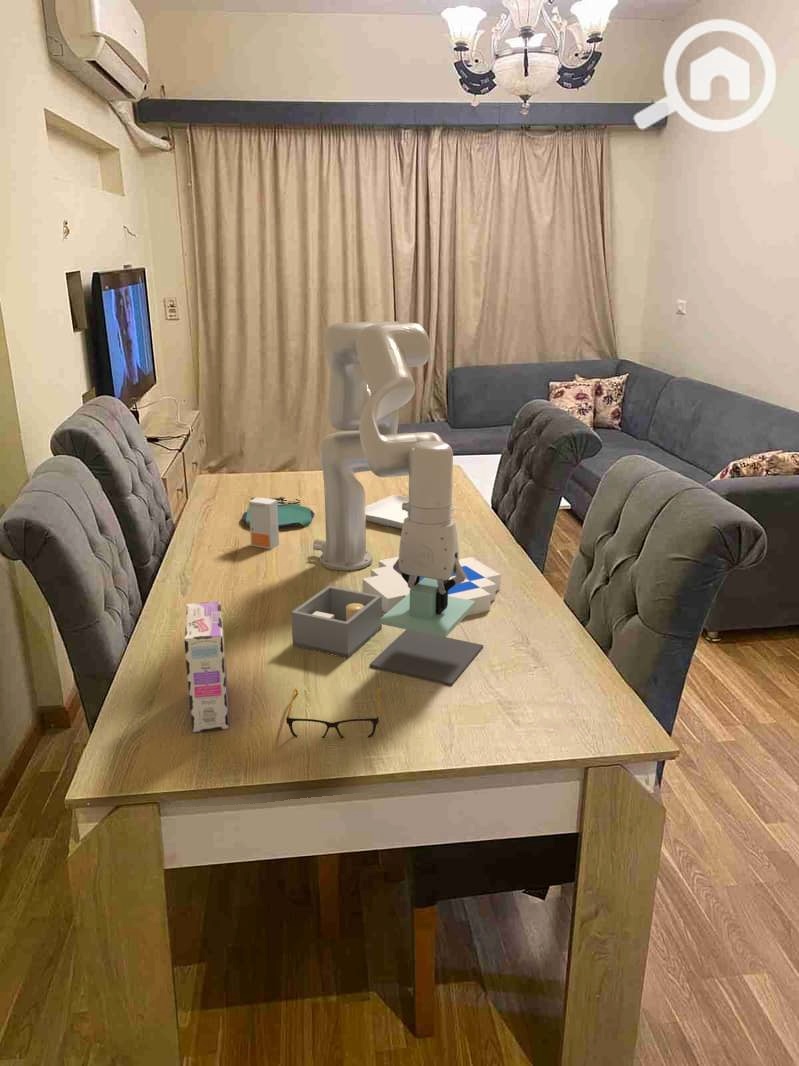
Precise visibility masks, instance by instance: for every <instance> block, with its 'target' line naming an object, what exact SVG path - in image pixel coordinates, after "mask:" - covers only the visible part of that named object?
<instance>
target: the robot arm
mask: <svg viewBox="0 0 799 1066" xmlns="http://www.w3.org/2000/svg"><path fill="white" fill-rule="evenodd" d="M431 350H432V349H431V342H430V338H429V335H428V333H427V331H426V330H425V328H424V327H423V326H421V324H419V323H415V322H408V321H397V320H394V321H351V322H338V323H332V324H331V325H329V326H328V327H327V328H326V330H325V331H324V334H323V351H324V353H325V357H326V360H327V363H328V367H329V382H328V383H329V386H328V406H327V407H328V409H327V413H328V414H327V416H328V423H329V424H330V425H331V427H332V428H333V429H335V430H337V431H338V432H333V433H329V434H327V435H325V436H324V437H322V439H321V441H320V442H319V448H318V449H319V450H318V452H319V459H320V464H321V469H322V477H323V486H324V488H323V489H324V514H325V518H324V519H325V522H324V523H325V540H323V539H318V538H315V539H314V541H313V546H312V548H313V550H315V551H320V552H322V554H321V555H320V557H319V563H320V564H321V566H324V567H325V568H326V569H330V570H334V571H355V570H361V569H364V568H366V567H368V566H370V565H371V564H372V563H373V554H372V553H370V552H369V551H367V537H366V536H367V535H366V534H367V533H366V529H367V528H366V527H367V525H366V523H367V522H366V521H367V520H366V513H365V506H366V492H365V488H364V485H362V483H361V482H360V481H359V480H358V479H357V478H356V476H355V474H358V473H363V472H372V473H373V474H374V475H375V476H377V477H379V478H394V477H405V476H408V497H409V502H408V503H403V504H402V510H406V511H407V512H408V516H409V517H407V518H405V519H404V522H403V527H402V529H401V533H400V541H399V549H398V557H399V559H398V560H397V561H396V563H395V564H394V566H393V569H394V570H395V571H396V572H398V573H399V574H401V575H402V577H403V579H404V580H405V581H406V582H407V583H408V587H409V588H410V589H412V588H413V587H414V586H415V585H416V584H418V583H419V582H420V578H421V577H425V578H430V579H436V580H437V583H438V593H437V594H436V614H441V613H442V612H443V611H444V610H445V609H446V608H447V606H448V590H449V589H451V588H452V587H453V586H454V585H457V584H459V583H461V582H463V581H464V580H466V578H467V576H466V574H465V572H464V570H463V569H462V567H461V565H460V563H459V559H460V551H459V550H460V549H459V546H460V545H459V537H458V532H457V531H458V530H457V525H456V521H455V520H454V519H452V517H453V515H452V514H453V511H452V506H453V477H454V476H453V475H454V473H453V472H454V471H453V470H454V469H453V468H454V452H453V448H452V447H451V445H449V444H448V443H446V442H444V441H443V439H442V438H441V436H440V435H439V434H438V433H436V432H432V431H420V432H419V431H418V432H406V433H405V432H404V433H398V429H399V428H398V427H399V417H400V408H401V407H403V406H404V405H406V404H407V403H408V402H409V401H410V400H411V399H412V398H413V396H414V395H415V391H416V384H415V381H414V378H413V376H412V373H411V371H410V368H417V367H421V366H424V365H426V364H427V362H428V360H429V358H430V356H431ZM453 573H455V575H456V577H453V578H452V579H450V577H451V576H452V575H453Z"/></svg>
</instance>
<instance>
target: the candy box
mask: <svg viewBox="0 0 799 1066" xmlns="http://www.w3.org/2000/svg"><path fill="white" fill-rule="evenodd" d="M222 611H223V610H222V602H221V601H219V600H218V601H206V602H205V601H204V602H196V603H194V602H193V603H186V612H185V614H186V616H185V626H184V640H183V641H184V642H183V643H184V651H185V666H186V677H187V689H188V698H189V699H188V700H189V709H190V710H189V711H190V720H191V731H192V733H199V732H206V731H207V732H208V731H217V730H218V731H219V730H227V729H229V728H230V721H229V720H230V719H229V718H230V717H229V693H228V678H227V676H228V675H227V666H226V665H227V664H226V654H225V653H226V652H225V637H224V636H225V635H224V624H223V623H224V622H223V612H222Z"/></svg>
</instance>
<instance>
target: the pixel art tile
mask: <svg viewBox="0 0 799 1066" xmlns="http://www.w3.org/2000/svg"><path fill="white" fill-rule="evenodd" d="M398 559H399V556H397V557H395V556H394V557H391V558H385V559H381V560H378V567H377V568H372V569H370V577H369V576H368V577H365V578H362V592H363V593H368V594H373V595H378V596H382V612H383V613H385V612H386V613H387V612H388V611H389V610H391V609H392V608H393V607H394V606H395V605H396V604H398V603H399V602H400V601H401V600H402V599H403V598H405V597H406V596H407V595H408V594H409V593H410V588H409V587H408V583H407V582H406V581H405V580H404V579H403V577H402V575H401V574H399V573H398V572H396V571H395V570H394V569H393V566H394V564H395V563H396V561H397V560H398ZM459 563H460V565H461V567H462V569H463V570H464V572H465V574H466V576H467V578H466V580H464V581H463V582H461V583H459V584H457V585H454V586H453V587H452V588H451V589H449V590H448V596H451V597H456V598H462V599H467V600H472V601H475V607H474V608H473V609H472V610H471V611H470V612H469V613H468V614H467V615H466V616H465V617H468V616H472V615H477V614H480V613H484V612H489V611H491V603H492V601H495V600H496V594H497V593H496V592H497V591H501V577H502V575H501V573H499V572H497V570H496V571H495V570H494V569H492V568H490V567H489V566H487V565H485V564H483V563H482V562H480V561H478V560H477V559H476V558H474V557H472V556H471V557H465V558H459ZM453 577H456V575H455V573H453V575H452V576H451V577H450V579H452V578H453ZM423 578H425V577H421V578H420V581H421V580H422V579H423ZM386 613H385V614H386Z"/></svg>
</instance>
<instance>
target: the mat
mask: <svg viewBox="0 0 799 1066" xmlns="http://www.w3.org/2000/svg"><path fill="white" fill-rule="evenodd" d="M483 648H484V645H483V644H481V643H477V642H475V643H474V642H470V641H466V640H461V639H456V638H451V637H448V636H447V637H446V638H445V637H441V636H436V635H431V634H426V633H421V632H416V631H412V630H407V629H404V631H403V632H401V634H399V636H398V637H396V638H395V640H393V641H392V643H390V644H389V645H388V646H387V647H386V648H385V649H384V650H383V651H382V652H380V653H379V655H378V656H376V657H375V658H374V659H373V661H371V662H370V663H369V668H370V667H371V668H374V669H378V670H383V671H386V672H392V673H395V674H400V675H404V676H407V677H412V678H417V679H421V680H425V681H430V682H434V683H436V684H437V683H438V684H441V685H442V684H443V685H446V686H450V687H452V686H453V685H454V684H455V683H456V681H457V680H458V679H459V678H460V677H461V675H462V674H463V673H464V672H465V670H466V669H467V668H468V666H470V665H471V663H472V662H473V660H474V659H475V658H476V657H477V656H478V654H479V653H480V652H481V651H482V649H483Z"/></svg>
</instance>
